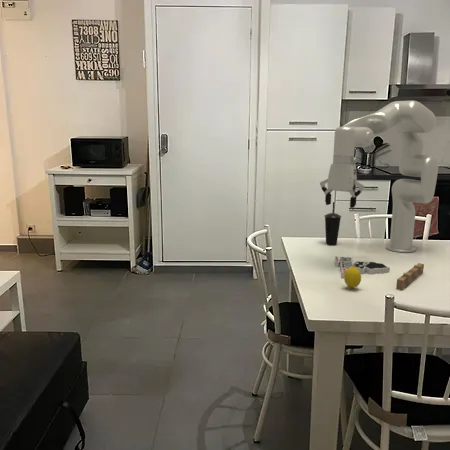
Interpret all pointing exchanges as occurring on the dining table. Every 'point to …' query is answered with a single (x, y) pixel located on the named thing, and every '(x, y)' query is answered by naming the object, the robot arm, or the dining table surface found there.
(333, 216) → the drinking cup
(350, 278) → the lemon
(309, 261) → the dining table surface
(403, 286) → the walnut ledge
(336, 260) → the decorative sign
